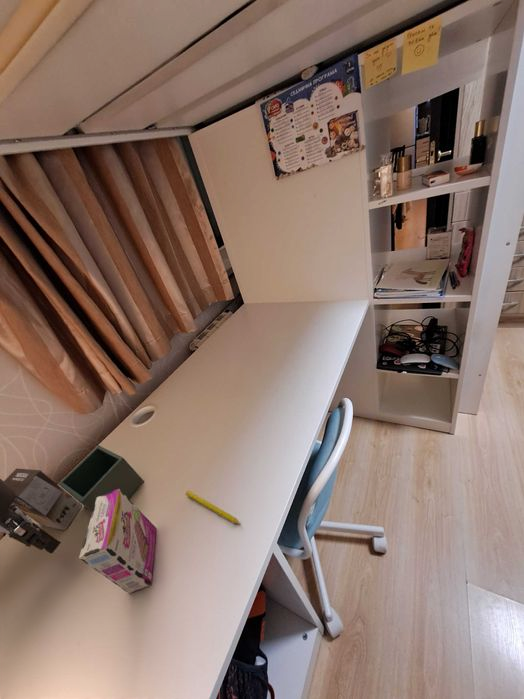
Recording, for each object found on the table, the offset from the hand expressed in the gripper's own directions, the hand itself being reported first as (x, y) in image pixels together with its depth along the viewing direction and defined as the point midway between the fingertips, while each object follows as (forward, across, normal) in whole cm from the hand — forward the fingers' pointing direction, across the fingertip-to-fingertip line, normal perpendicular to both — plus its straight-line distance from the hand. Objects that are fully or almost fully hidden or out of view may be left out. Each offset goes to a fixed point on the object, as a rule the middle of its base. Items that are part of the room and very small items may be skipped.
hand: (39, 537), depth 60 cm
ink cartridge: (+4, 0, 0) cm, 4 cm away
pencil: (+9, +26, +22) cm, 36 cm away
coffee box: (+10, -12, +5) cm, 17 cm away
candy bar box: (+10, +18, +8) cm, 22 cm away
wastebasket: (+10, -3, +14) cm, 18 cm away
